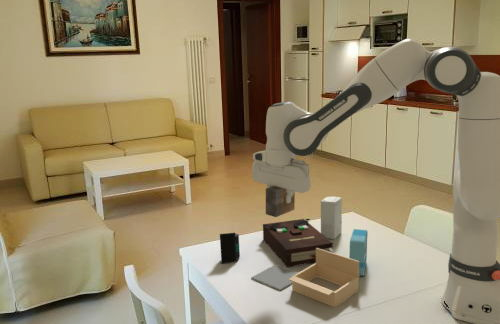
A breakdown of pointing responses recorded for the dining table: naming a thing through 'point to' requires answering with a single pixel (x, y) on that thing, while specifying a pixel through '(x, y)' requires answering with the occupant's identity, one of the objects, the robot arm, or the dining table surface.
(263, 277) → the mat
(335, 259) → the drawer
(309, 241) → the decorative book
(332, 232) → the skincare box
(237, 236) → the speaker
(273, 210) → the box
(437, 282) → the dining table surface
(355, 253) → the blue rounded block
